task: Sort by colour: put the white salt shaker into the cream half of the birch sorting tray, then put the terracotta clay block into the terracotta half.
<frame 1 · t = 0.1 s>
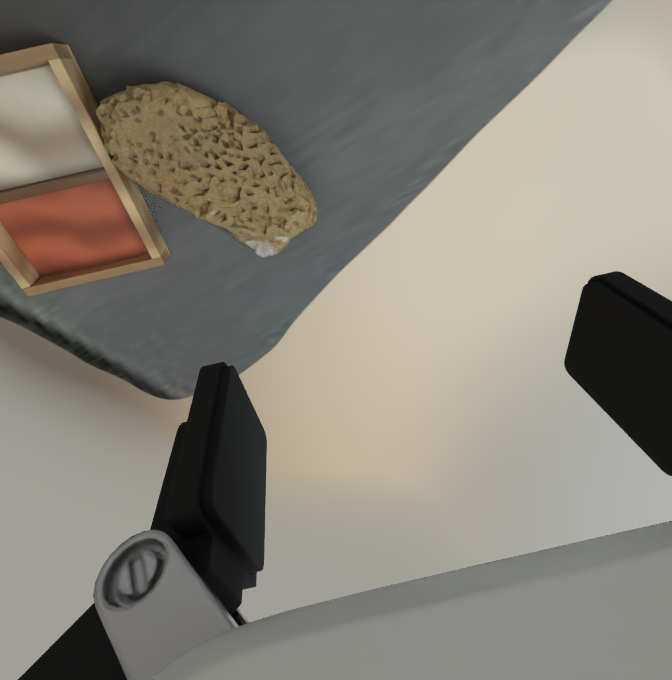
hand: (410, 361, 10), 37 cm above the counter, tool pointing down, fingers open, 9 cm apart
sponge: (219, 166, 40), on the counter
sorting tray: (53, 183, 38), on the counter
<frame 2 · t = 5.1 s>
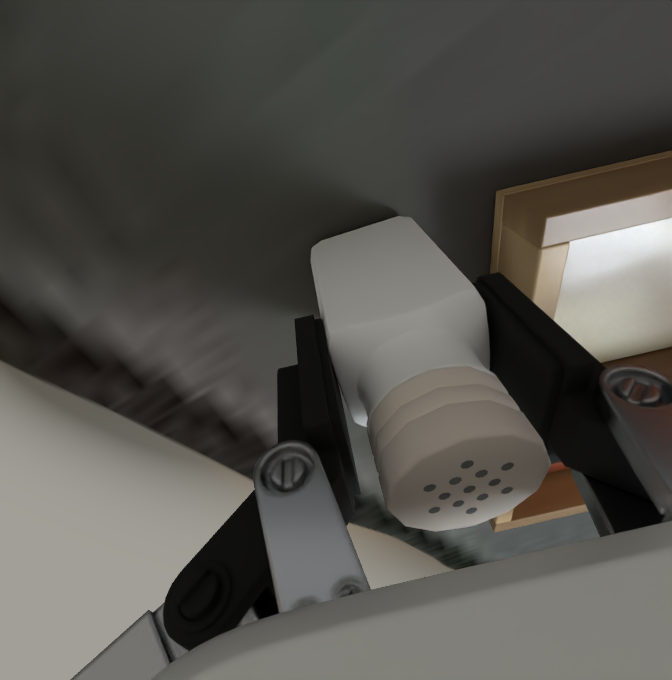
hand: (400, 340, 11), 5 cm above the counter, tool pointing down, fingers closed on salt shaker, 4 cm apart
salt shaker: (367, 268, 15), on the counter, touching gripper
sorting tray: (629, 350, 19), on the counter
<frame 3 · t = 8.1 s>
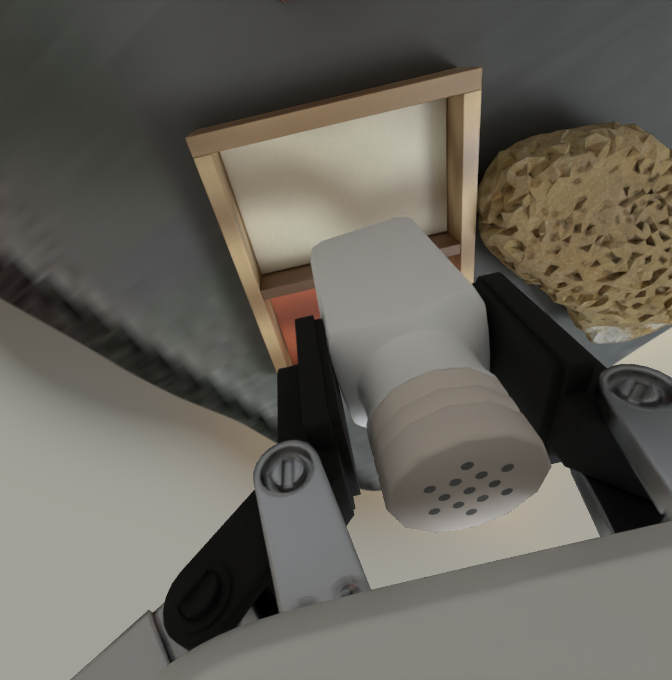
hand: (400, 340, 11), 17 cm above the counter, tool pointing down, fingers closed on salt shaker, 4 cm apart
salt shaker: (367, 269, 15), point 12 cm above the counter, touching gripper
sponge: (567, 227, 29), on the counter
sorting tray: (353, 254, 28), on the counter
when the fingers open (6 cm above the counter, at t = 11.2 s): salt shaker stays where it is, resting on sorting tray.
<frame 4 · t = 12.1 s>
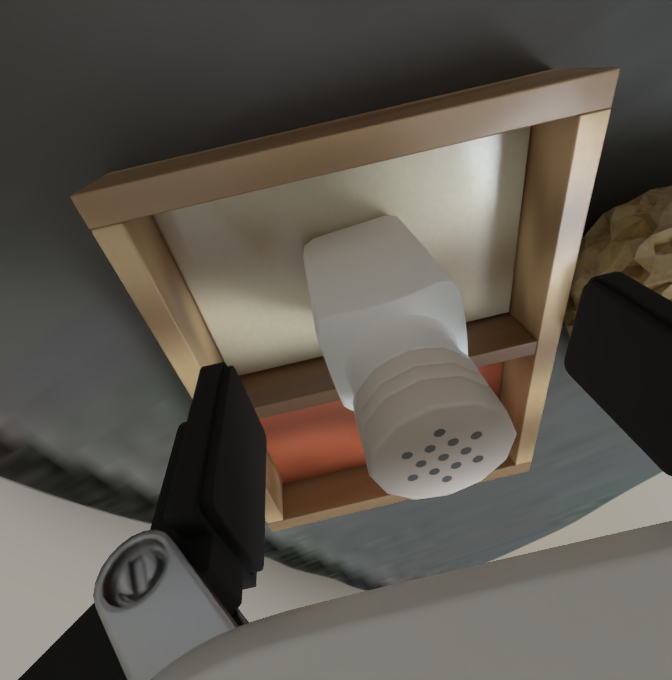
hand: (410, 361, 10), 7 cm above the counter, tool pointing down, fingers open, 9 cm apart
salt shaker: (357, 265, 16), point 1 cm above the counter, touching sorting tray
sorting tray: (368, 343, 19), on the counter
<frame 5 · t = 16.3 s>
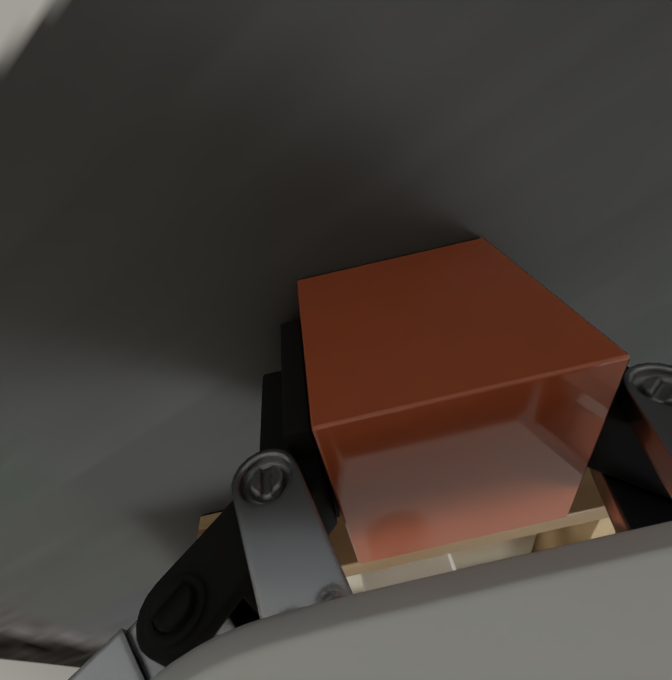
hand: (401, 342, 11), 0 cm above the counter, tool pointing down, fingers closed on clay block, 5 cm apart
clay block: (397, 333, 11), on the counter, touching gripper
salt shaker: (401, 545, 18), point 1 cm above the counter, touching sorting tray
sorting tray: (404, 570, 21), on the counter
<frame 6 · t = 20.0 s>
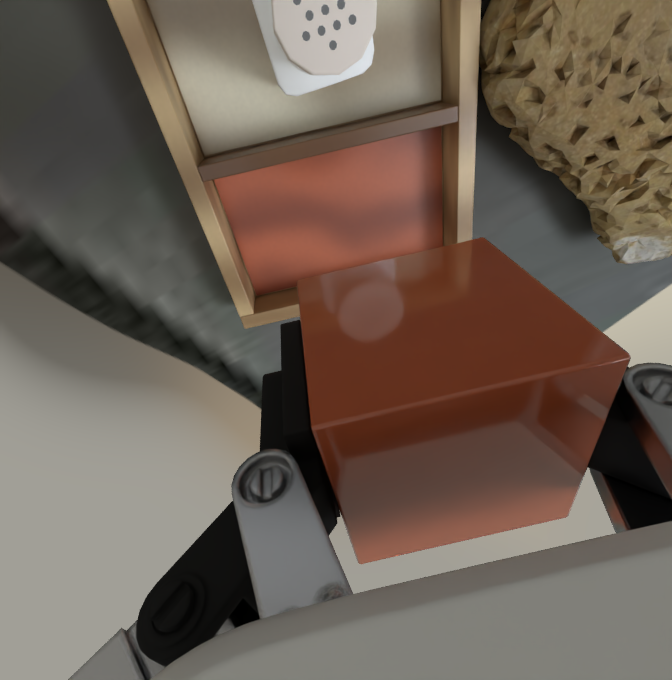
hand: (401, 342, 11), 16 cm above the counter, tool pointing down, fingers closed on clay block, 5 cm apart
clay block: (397, 333, 11), point 16 cm above the counter, touching gripper
salt shaker: (305, 34, 19), point 1 cm above the counter, touching sorting tray
sponge: (593, 108, 23), on the counter
sorting tray: (322, 135, 22), on the counter
when the fingers open (1 cm above the counter, at t = 23.9 s): clay block stays where it is, resting on sorting tray.
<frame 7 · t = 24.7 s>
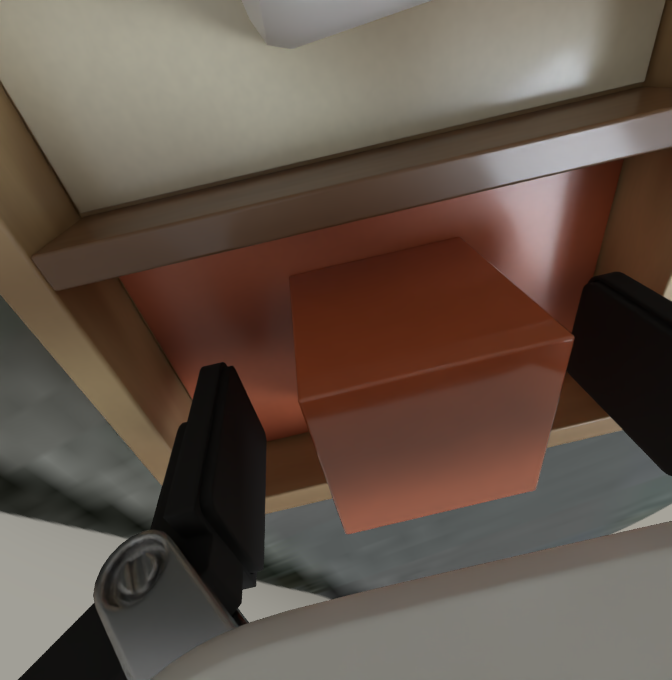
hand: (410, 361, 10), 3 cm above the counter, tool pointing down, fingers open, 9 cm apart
clay block: (383, 326, 12), point 1 cm above the counter, touching sorting tray
sorting tray: (359, 163, 10), on the counter
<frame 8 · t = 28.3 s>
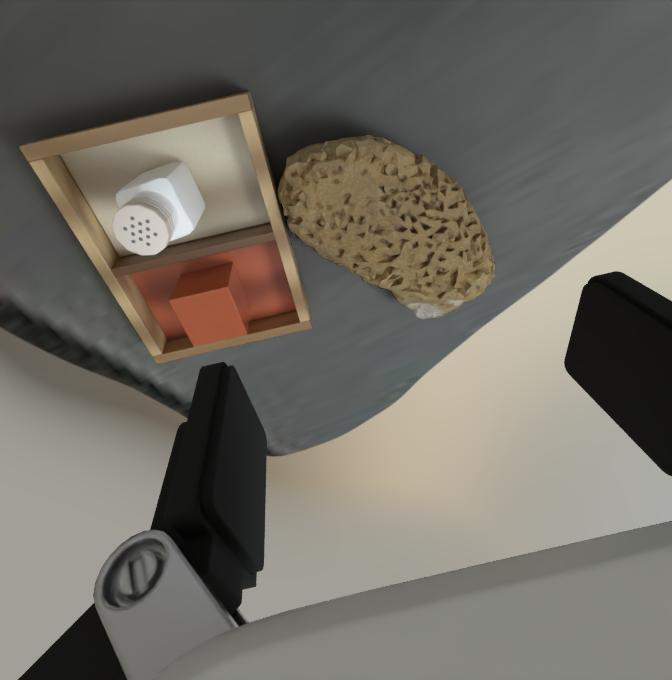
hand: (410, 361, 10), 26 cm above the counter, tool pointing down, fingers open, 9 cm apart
clay block: (217, 290, 36), point 1 cm above the counter, touching sorting tray
salt shaker: (175, 190, 30), point 1 cm above the counter, touching sorting tray
sponge: (383, 219, 35), on the counter
sorting tray: (199, 241, 33), on the counter
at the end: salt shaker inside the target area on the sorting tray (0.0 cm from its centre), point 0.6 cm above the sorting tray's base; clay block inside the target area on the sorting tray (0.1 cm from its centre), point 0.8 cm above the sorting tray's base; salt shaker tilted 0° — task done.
